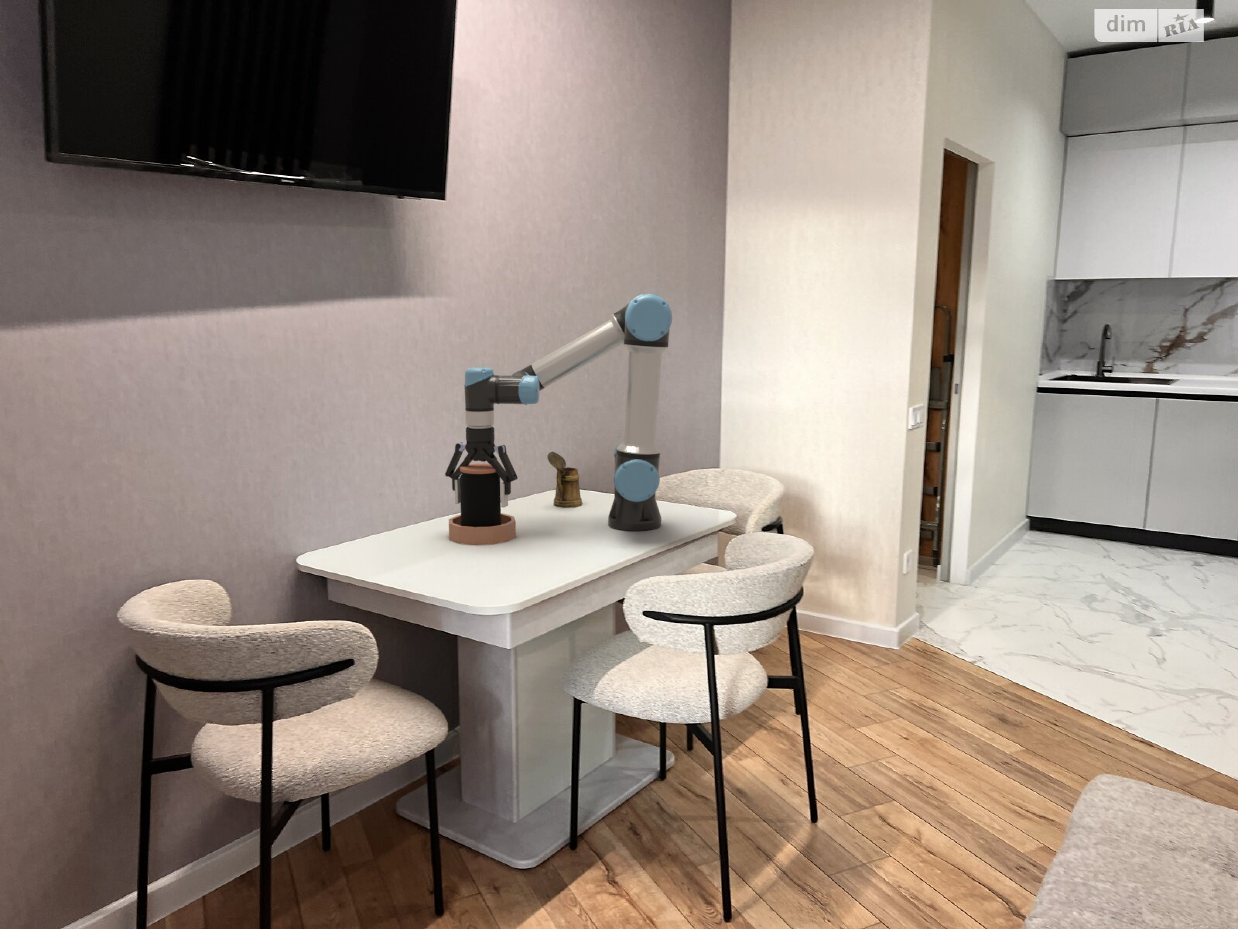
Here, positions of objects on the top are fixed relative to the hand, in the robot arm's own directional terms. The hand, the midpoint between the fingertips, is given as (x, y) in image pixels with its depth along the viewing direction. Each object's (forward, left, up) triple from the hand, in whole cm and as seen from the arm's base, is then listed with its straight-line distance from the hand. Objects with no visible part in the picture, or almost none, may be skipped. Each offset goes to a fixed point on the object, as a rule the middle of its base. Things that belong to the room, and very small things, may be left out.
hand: (481, 504), depth 251 cm
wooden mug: (-7, -42, -9) cm, 43 cm away
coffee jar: (0, 0, -8) cm, 8 cm away
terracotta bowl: (0, 0, -9) cm, 9 cm away
